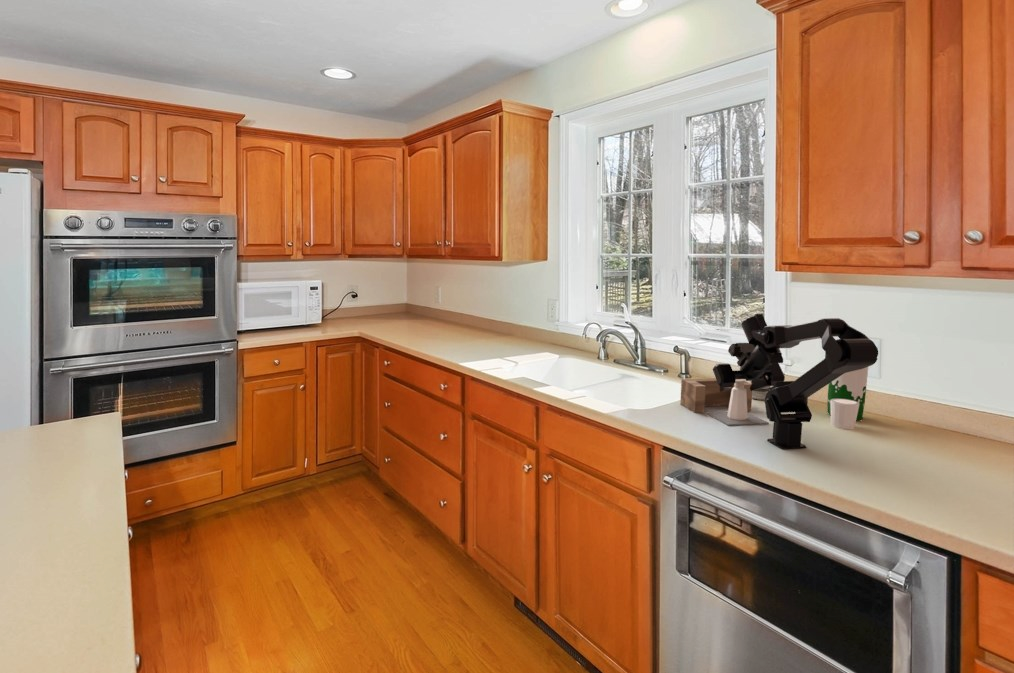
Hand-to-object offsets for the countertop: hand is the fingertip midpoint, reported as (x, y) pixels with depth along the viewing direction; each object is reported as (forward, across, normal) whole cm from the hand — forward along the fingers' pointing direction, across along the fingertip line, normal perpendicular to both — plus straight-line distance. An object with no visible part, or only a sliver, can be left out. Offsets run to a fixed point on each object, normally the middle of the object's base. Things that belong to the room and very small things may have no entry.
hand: (735, 390), depth 162 cm
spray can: (+20, -20, -8) cm, 30 cm away
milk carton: (+3, -32, +9) cm, 33 cm away
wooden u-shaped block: (+13, 0, -2) cm, 14 cm away
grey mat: (+5, 0, +7) cm, 8 cm away
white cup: (-2, -25, +14) cm, 29 cm away
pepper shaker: (+4, 0, +7) cm, 8 cm away
